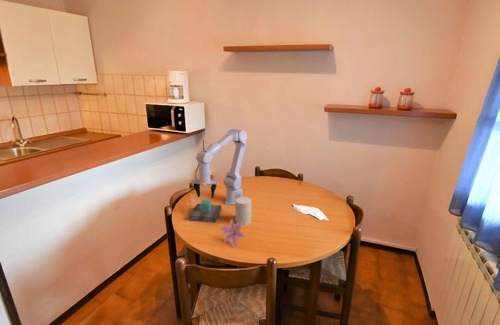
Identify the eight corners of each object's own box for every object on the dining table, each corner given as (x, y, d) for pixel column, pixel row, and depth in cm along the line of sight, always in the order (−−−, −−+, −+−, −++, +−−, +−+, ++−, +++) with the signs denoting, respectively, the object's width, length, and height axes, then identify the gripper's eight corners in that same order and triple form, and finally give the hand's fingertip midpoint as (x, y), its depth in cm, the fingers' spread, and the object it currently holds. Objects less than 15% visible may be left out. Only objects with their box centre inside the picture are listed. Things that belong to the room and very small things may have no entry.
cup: (239, 226, 140) (239, 205, 137) (233, 219, 147) (233, 198, 143) (253, 222, 144) (254, 201, 140) (246, 216, 151) (246, 195, 147)
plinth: (221, 210, 157) (221, 205, 156) (215, 222, 143) (215, 217, 142) (197, 208, 158) (197, 203, 157) (189, 220, 145) (189, 215, 144)
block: (211, 208, 152) (210, 200, 150) (208, 212, 148) (208, 203, 146) (203, 208, 152) (202, 199, 151) (200, 211, 148) (200, 203, 146)
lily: (220, 236, 133) (214, 226, 126) (240, 223, 136) (236, 212, 129) (231, 255, 125) (226, 245, 118) (253, 241, 128) (249, 230, 121)
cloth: (336, 219, 150) (336, 215, 149) (317, 226, 143) (318, 222, 142) (303, 201, 171) (303, 198, 170) (285, 206, 164) (286, 203, 163)
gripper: (189, 175, 144) (190, 199, 148) (216, 176, 143) (217, 200, 147) (193, 170, 151) (194, 193, 155) (219, 172, 149) (219, 195, 153)
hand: (205, 196), depth 151 cm, fingers open, 7 cm apart
